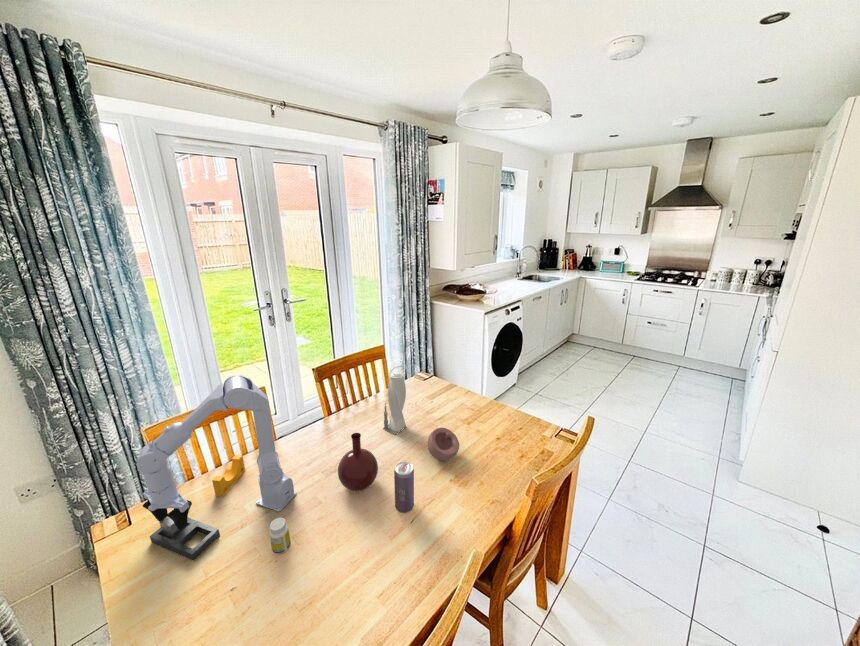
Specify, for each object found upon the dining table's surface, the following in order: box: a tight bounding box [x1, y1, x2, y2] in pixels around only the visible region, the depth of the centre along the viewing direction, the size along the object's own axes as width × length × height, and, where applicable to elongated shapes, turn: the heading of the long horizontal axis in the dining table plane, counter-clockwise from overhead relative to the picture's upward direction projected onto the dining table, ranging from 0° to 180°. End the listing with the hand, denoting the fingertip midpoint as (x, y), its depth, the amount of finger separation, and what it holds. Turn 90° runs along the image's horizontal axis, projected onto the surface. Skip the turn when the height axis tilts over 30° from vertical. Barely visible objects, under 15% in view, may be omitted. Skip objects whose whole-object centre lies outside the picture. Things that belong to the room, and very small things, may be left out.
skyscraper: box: [382, 365, 407, 436], centre depth 144 cm, size 8×8×28 cm
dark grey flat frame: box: [149, 516, 221, 562], centre depth 97 cm, size 16×8×2 cm, turn 71°
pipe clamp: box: [211, 454, 246, 497], centre depth 117 cm, size 12×4×6 cm, turn 175°
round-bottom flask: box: [337, 432, 379, 492], centre depth 114 cm, size 13×13×20 cm
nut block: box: [158, 516, 187, 540], centre depth 98 cm, size 4×4×6 cm
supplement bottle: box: [269, 517, 292, 555], centre depth 94 cm, size 5×5×8 cm
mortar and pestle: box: [426, 427, 460, 462], centre depth 129 cm, size 12×12×11 cm
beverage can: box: [393, 461, 415, 514], centre depth 107 cm, size 6×6×15 cm
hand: (172, 522), depth 97 cm, fingers open, 7 cm apart
